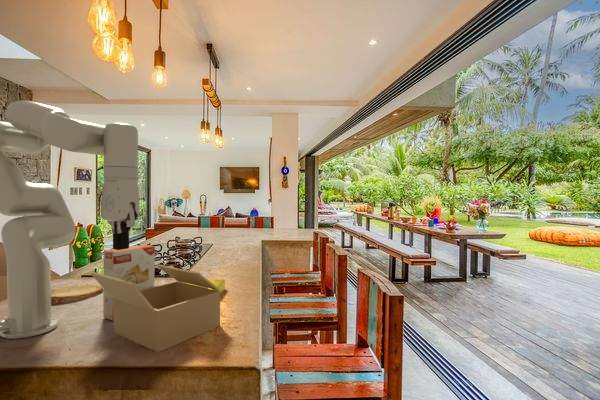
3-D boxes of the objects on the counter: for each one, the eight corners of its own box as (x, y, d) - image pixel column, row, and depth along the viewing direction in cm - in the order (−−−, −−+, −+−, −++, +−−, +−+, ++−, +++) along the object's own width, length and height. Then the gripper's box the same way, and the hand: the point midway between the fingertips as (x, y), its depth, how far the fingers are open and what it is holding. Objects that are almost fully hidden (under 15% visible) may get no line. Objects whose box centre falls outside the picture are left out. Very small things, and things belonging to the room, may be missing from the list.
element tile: (174, 301, 124) (174, 287, 124) (188, 289, 139) (188, 277, 139) (217, 301, 124) (217, 287, 124) (225, 289, 139) (225, 277, 139)
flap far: (177, 280, 111) (178, 279, 111) (218, 290, 100) (219, 289, 100) (155, 265, 104) (156, 263, 104) (197, 274, 94) (198, 272, 94)
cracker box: (113, 322, 102) (113, 251, 102) (102, 318, 106) (102, 249, 105) (155, 308, 114) (155, 245, 114) (144, 305, 117) (144, 243, 117)
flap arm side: (155, 310, 83) (154, 312, 83) (114, 296, 94) (112, 298, 94) (132, 282, 78) (131, 284, 78) (91, 271, 89) (89, 272, 89)
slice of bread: (107, 289, 137) (107, 280, 137) (86, 304, 119) (86, 294, 119) (57, 291, 134) (57, 282, 134) (28, 307, 116) (28, 296, 116)
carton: (157, 352, 83) (157, 311, 83) (113, 332, 95) (113, 296, 94) (220, 325, 100) (220, 291, 100) (176, 311, 111) (176, 280, 111)
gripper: (90, 174, 86) (90, 247, 87) (122, 173, 78) (122, 254, 79) (119, 175, 93) (119, 244, 93) (152, 175, 84) (152, 250, 85)
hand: (121, 248), depth 86 cm, fingers closed
